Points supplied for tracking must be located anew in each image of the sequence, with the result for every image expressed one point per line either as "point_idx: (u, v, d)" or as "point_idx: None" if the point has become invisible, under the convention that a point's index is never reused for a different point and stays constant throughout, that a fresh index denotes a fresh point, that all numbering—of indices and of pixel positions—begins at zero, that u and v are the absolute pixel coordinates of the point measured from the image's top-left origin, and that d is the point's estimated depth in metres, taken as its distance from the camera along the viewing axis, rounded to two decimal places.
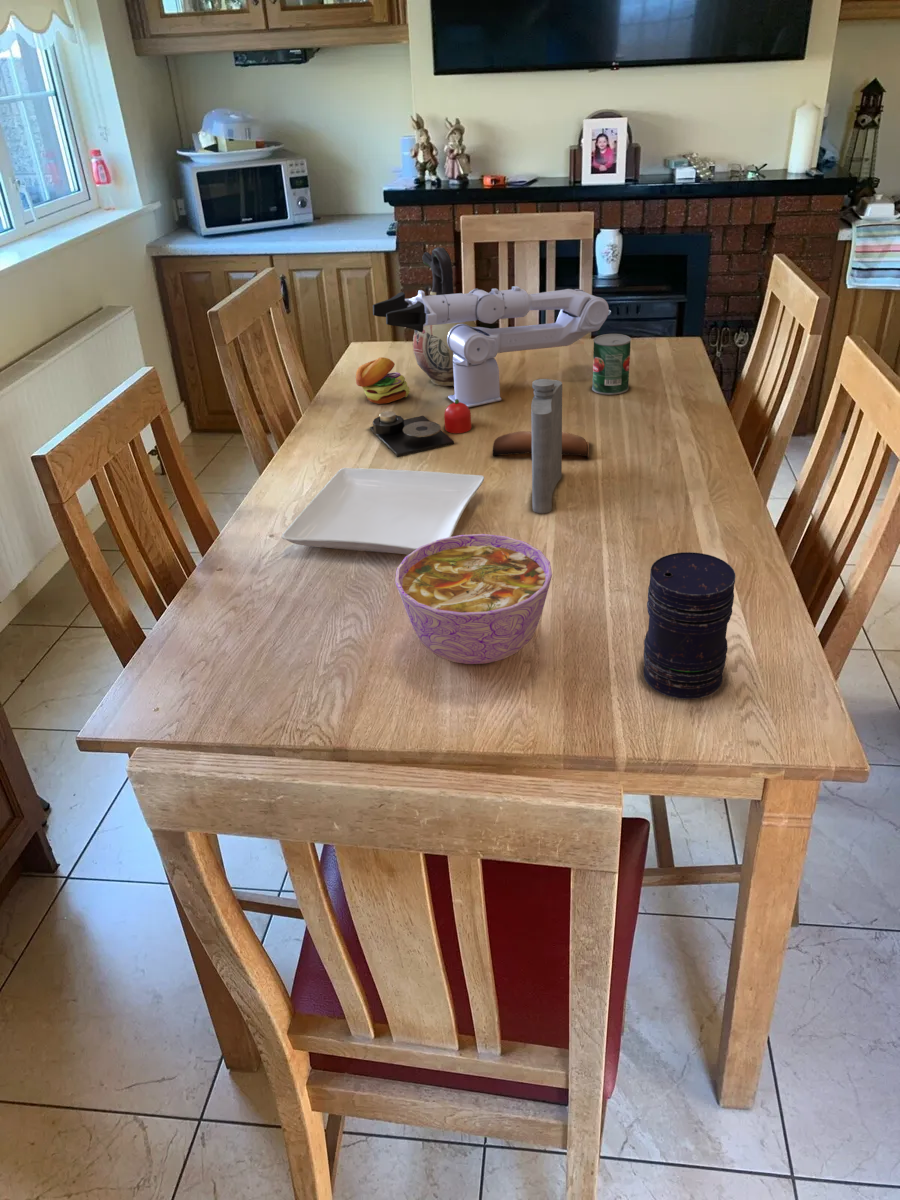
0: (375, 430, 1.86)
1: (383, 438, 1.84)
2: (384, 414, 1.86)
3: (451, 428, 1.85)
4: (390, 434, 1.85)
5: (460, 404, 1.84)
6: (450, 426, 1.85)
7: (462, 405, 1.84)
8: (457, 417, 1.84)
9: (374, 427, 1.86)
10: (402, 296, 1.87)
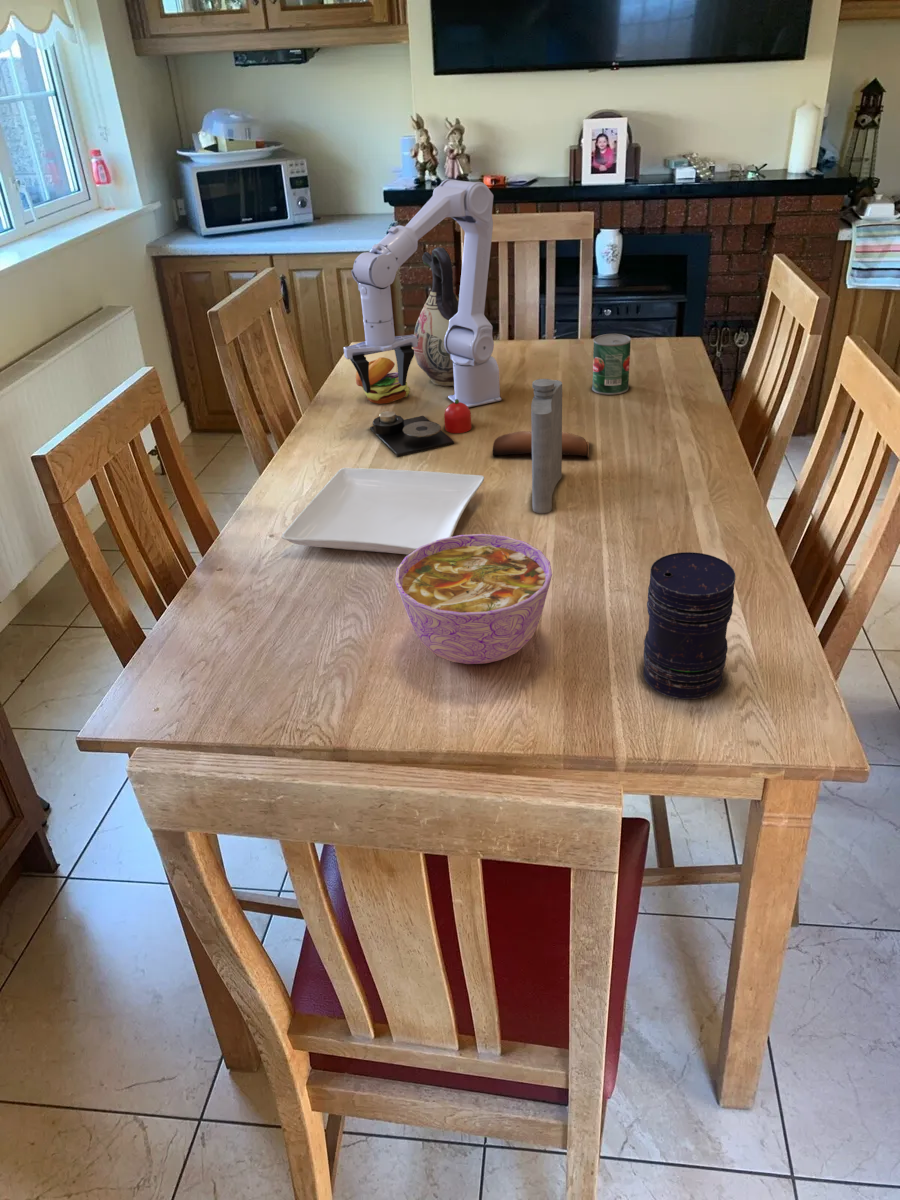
0: (375, 430, 1.86)
1: (383, 438, 1.84)
2: (384, 414, 1.86)
3: (451, 428, 1.85)
4: (390, 434, 1.85)
5: (460, 404, 1.84)
6: (450, 426, 1.85)
7: (462, 405, 1.84)
8: (457, 417, 1.84)
9: (374, 427, 1.86)
10: None
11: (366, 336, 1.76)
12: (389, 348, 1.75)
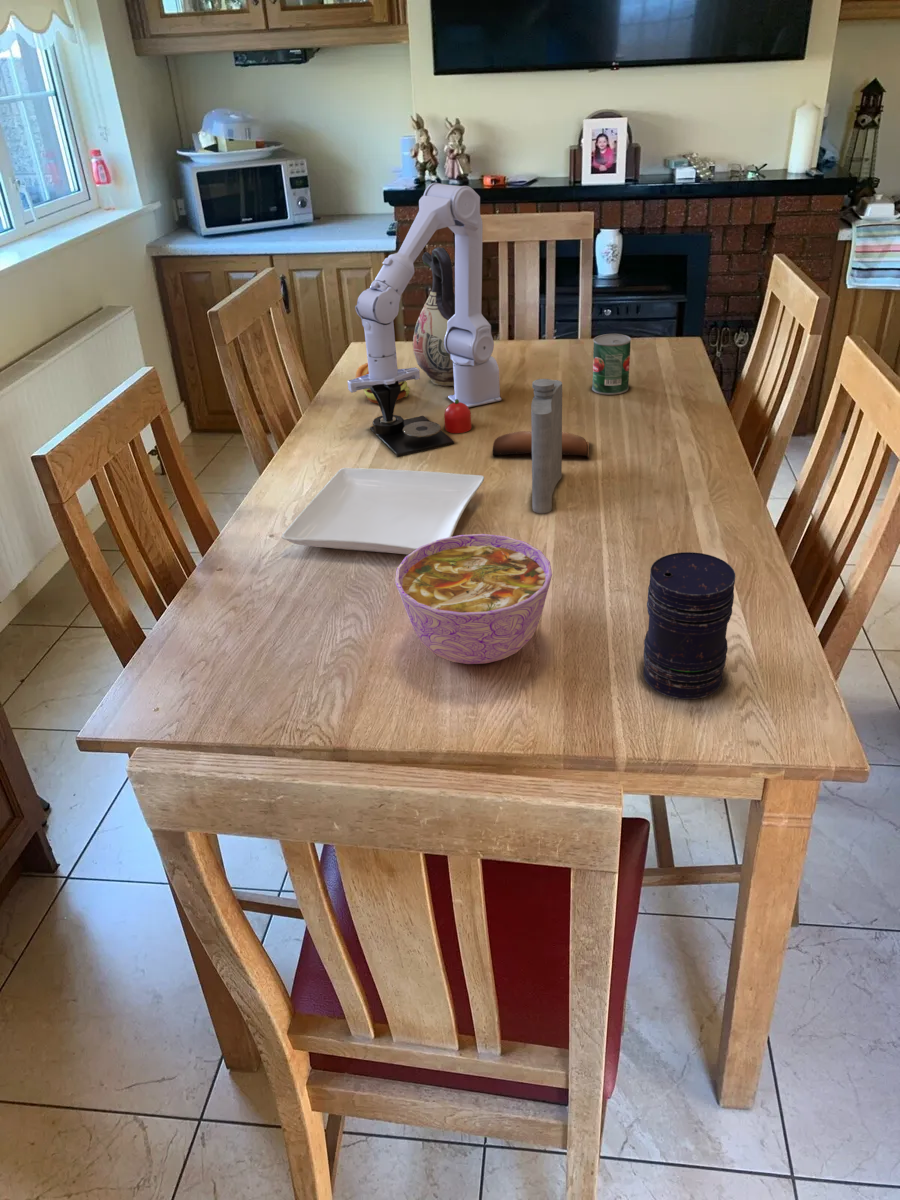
0: (375, 430, 1.86)
1: (383, 438, 1.84)
2: None
3: (451, 428, 1.85)
4: (390, 434, 1.85)
5: (460, 404, 1.84)
6: (450, 426, 1.85)
7: (462, 405, 1.84)
8: (457, 417, 1.84)
9: (374, 427, 1.86)
10: (388, 393, 1.81)
11: (370, 370, 1.79)
12: (392, 382, 1.79)
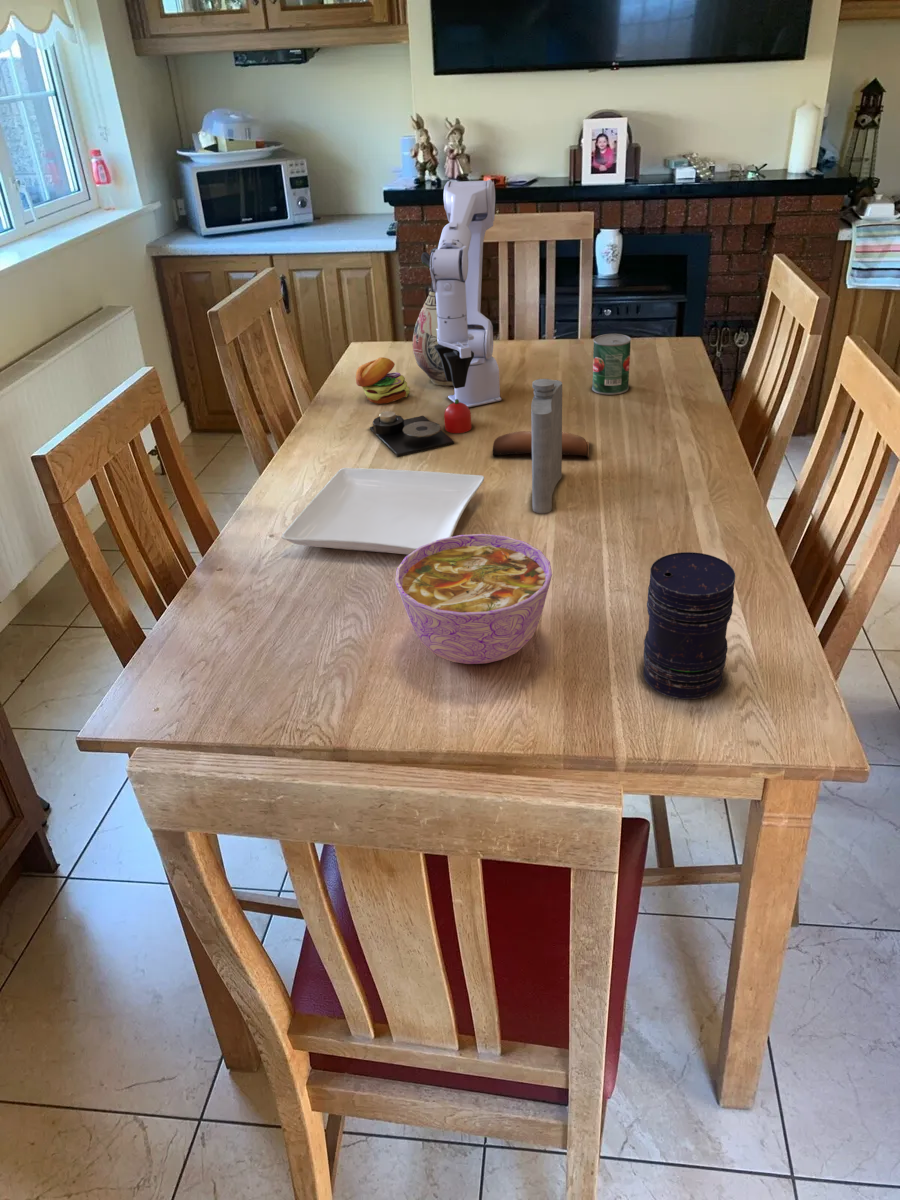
0: (375, 430, 1.86)
1: (383, 438, 1.84)
2: (384, 414, 1.86)
3: (451, 428, 1.85)
4: (390, 434, 1.85)
5: (460, 404, 1.84)
6: (450, 426, 1.85)
7: (462, 405, 1.84)
8: (457, 417, 1.84)
9: (374, 427, 1.86)
10: None
11: (459, 332, 1.75)
12: None
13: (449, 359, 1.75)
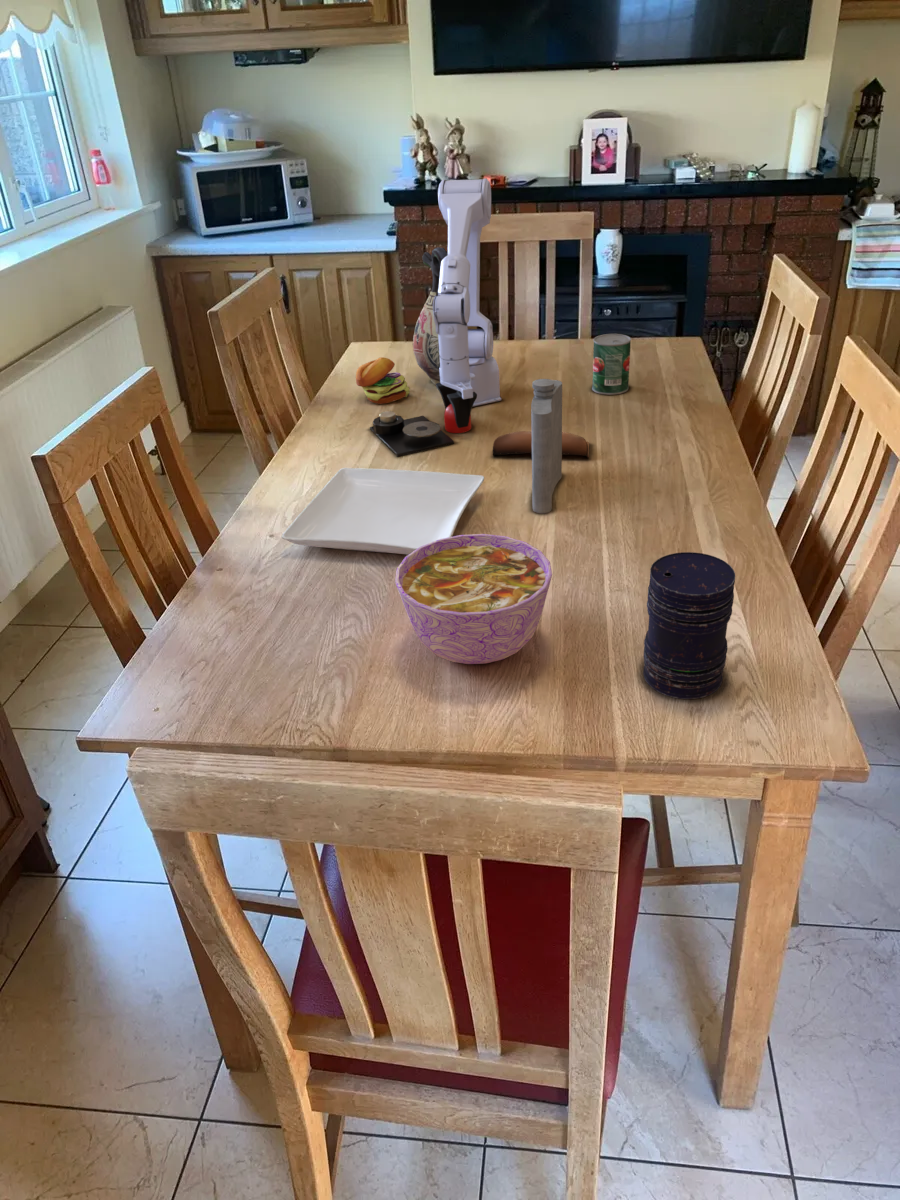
0: (375, 430, 1.86)
1: (383, 438, 1.84)
2: (384, 414, 1.86)
3: (451, 427, 1.85)
4: (390, 434, 1.85)
5: None
6: (450, 426, 1.85)
7: None
8: None
9: (374, 427, 1.86)
10: None
11: (461, 373, 1.79)
12: None
13: (453, 400, 1.79)
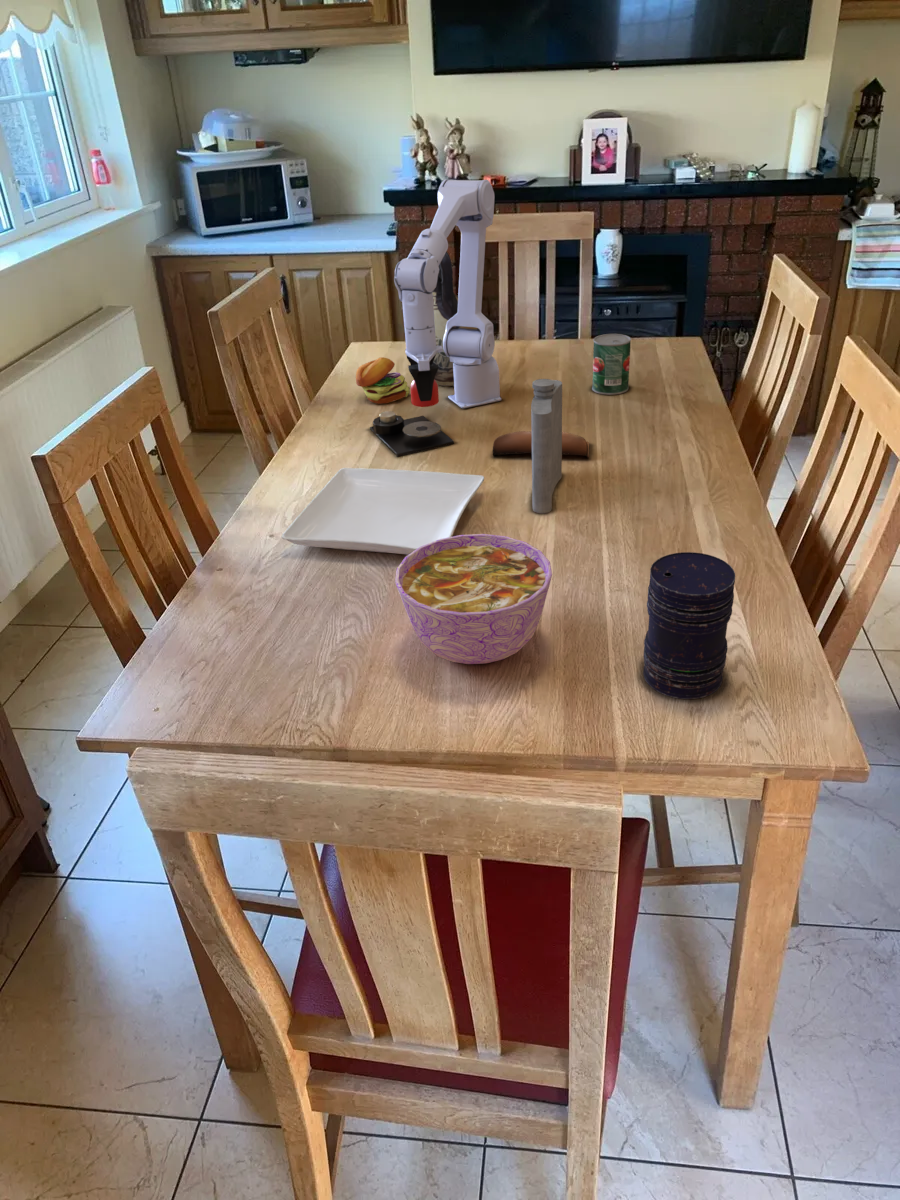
0: (375, 430, 1.86)
1: (383, 438, 1.84)
2: (384, 414, 1.86)
3: (415, 400, 1.78)
4: (390, 434, 1.85)
5: None
6: (414, 399, 1.78)
7: None
8: None
9: (374, 427, 1.86)
10: None
11: (423, 344, 1.71)
12: None
13: (411, 372, 1.72)
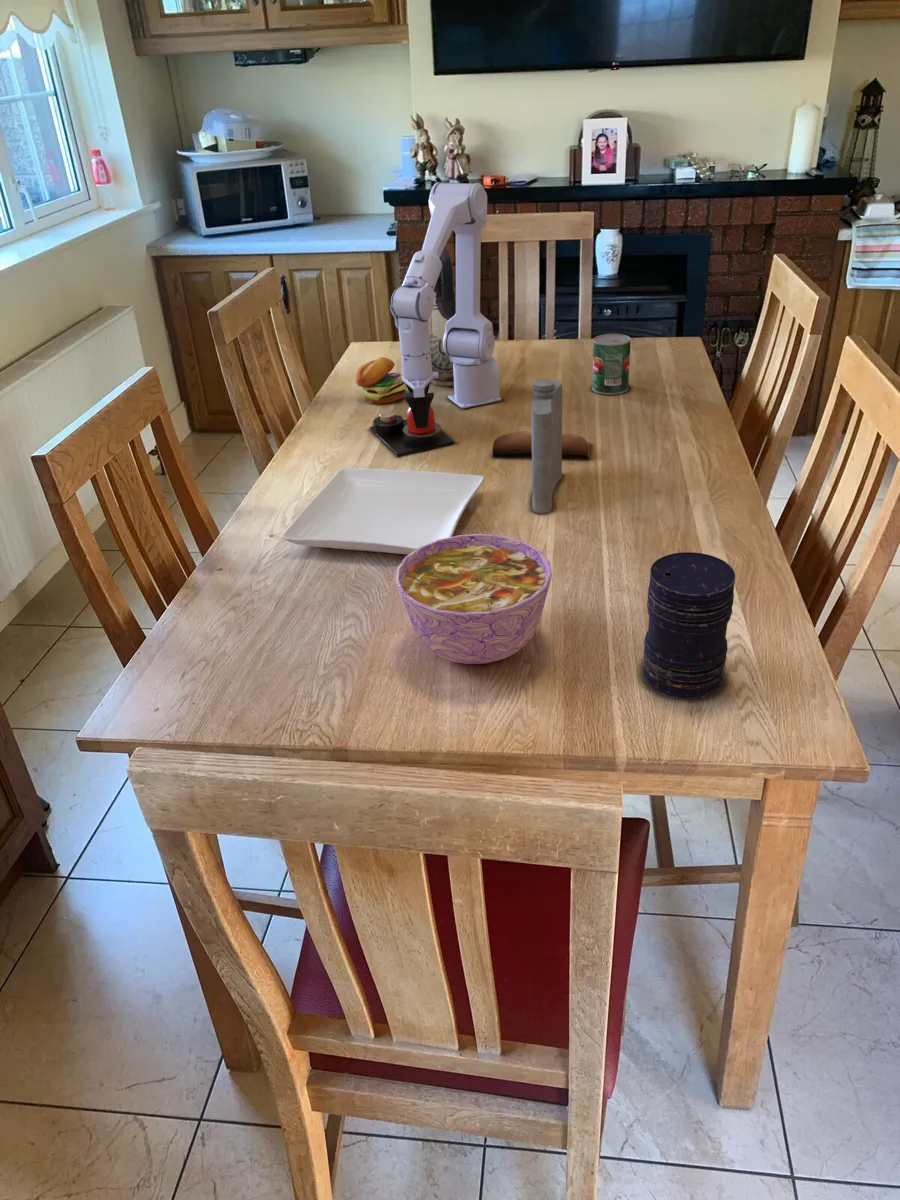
0: (375, 430, 1.86)
1: (383, 438, 1.84)
2: (384, 414, 1.86)
3: (411, 427, 1.80)
4: (390, 434, 1.85)
5: None
6: (410, 425, 1.80)
7: None
8: None
9: (374, 427, 1.86)
10: None
11: (418, 371, 1.73)
12: None
13: (406, 399, 1.73)
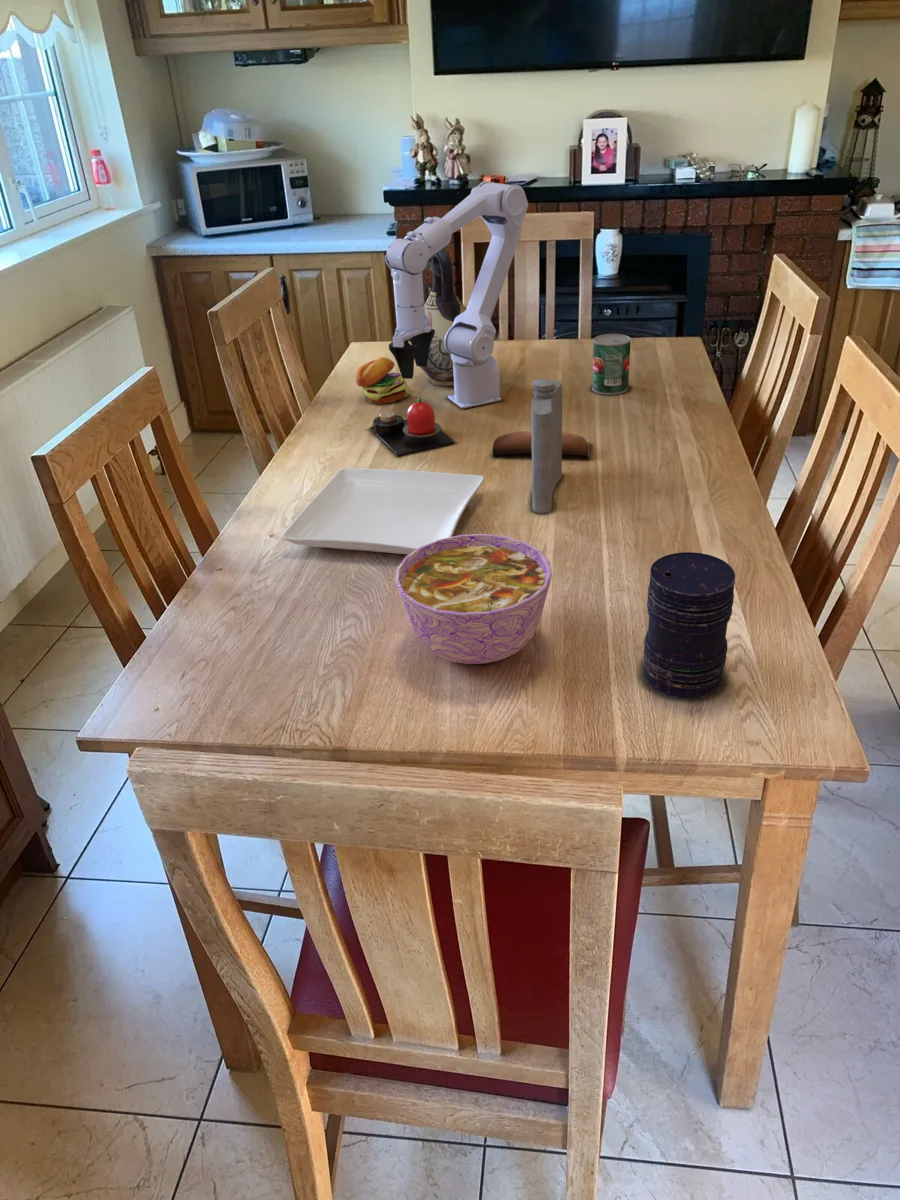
0: (375, 430, 1.86)
1: (383, 438, 1.84)
2: (384, 414, 1.86)
3: (411, 427, 1.80)
4: (390, 434, 1.85)
5: (422, 404, 1.79)
6: (410, 425, 1.80)
7: (424, 405, 1.79)
8: (416, 417, 1.79)
9: (374, 427, 1.86)
10: None
11: (406, 322, 1.79)
12: (430, 328, 1.82)
13: (389, 348, 1.80)
